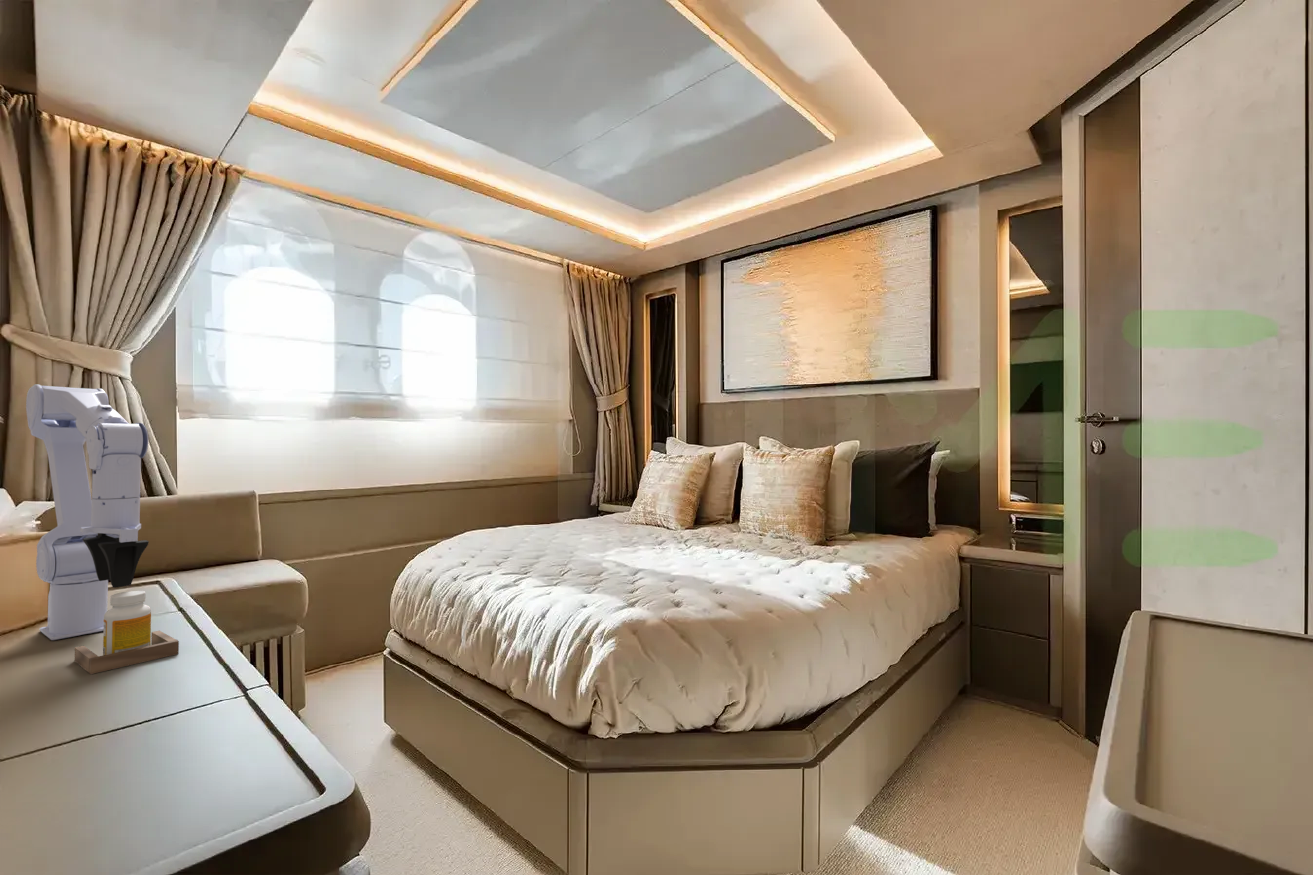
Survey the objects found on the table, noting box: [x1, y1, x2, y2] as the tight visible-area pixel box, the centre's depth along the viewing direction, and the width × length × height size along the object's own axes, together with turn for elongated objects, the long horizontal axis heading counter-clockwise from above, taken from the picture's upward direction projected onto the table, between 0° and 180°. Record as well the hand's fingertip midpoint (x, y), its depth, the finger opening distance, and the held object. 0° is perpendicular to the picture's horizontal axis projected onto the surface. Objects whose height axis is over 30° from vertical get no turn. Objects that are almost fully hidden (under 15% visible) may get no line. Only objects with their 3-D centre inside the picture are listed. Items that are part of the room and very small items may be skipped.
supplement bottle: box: [102, 590, 152, 656], centre depth 89 cm, size 5×5×10 cm
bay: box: [74, 630, 180, 675], centre depth 89 cm, size 9×10×2 cm
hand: (114, 582), depth 94 cm, fingers open, 7 cm apart
